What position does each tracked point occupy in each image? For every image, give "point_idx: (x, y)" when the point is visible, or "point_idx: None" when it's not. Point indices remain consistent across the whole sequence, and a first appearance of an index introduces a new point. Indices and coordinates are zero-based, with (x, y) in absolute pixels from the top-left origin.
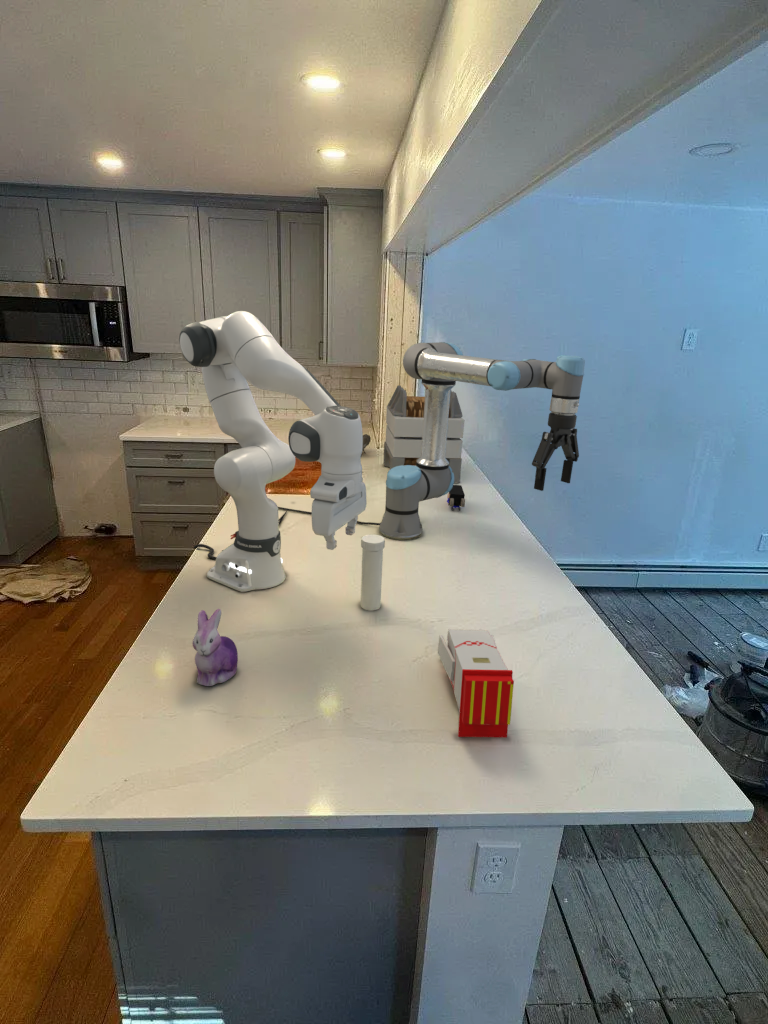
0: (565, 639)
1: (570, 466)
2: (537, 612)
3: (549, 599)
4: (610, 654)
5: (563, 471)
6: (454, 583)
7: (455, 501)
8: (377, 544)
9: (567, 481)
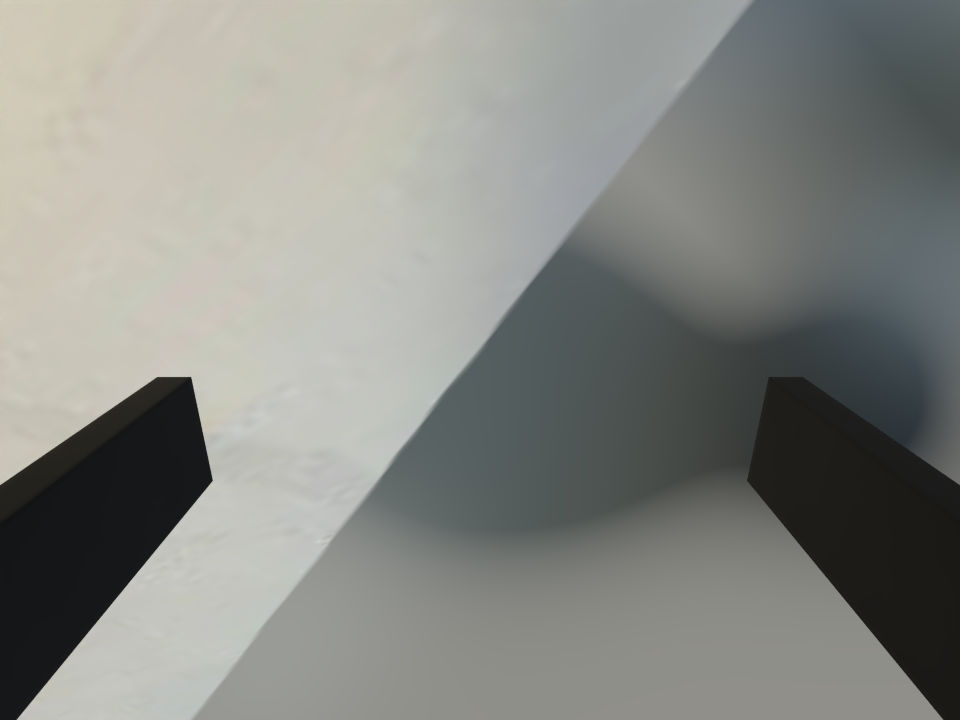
0: (179, 541)
1: (910, 662)
2: (217, 421)
3: (324, 396)
4: (231, 628)
5: (855, 471)
6: (64, 80)
7: None
8: None
9: (759, 476)
